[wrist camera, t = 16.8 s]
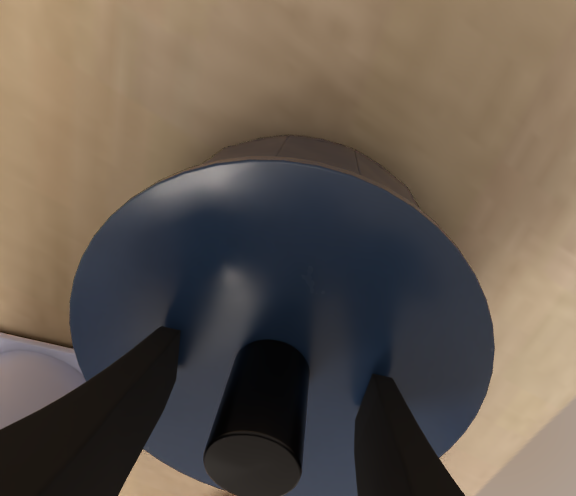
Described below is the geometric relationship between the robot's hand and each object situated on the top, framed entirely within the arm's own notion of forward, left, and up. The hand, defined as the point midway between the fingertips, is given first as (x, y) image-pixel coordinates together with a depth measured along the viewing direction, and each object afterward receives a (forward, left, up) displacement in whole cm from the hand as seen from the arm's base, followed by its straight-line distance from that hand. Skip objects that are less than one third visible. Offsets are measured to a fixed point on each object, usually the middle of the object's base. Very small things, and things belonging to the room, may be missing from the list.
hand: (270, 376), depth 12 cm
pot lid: (0, 0, -1) cm, 1 cm away
